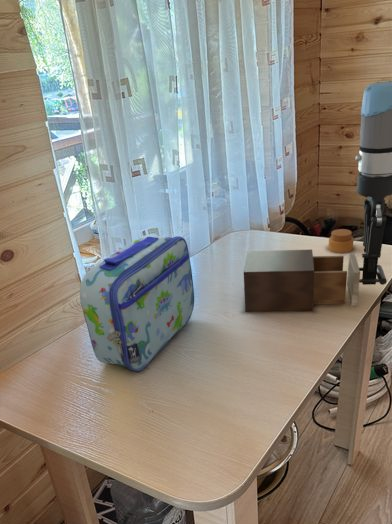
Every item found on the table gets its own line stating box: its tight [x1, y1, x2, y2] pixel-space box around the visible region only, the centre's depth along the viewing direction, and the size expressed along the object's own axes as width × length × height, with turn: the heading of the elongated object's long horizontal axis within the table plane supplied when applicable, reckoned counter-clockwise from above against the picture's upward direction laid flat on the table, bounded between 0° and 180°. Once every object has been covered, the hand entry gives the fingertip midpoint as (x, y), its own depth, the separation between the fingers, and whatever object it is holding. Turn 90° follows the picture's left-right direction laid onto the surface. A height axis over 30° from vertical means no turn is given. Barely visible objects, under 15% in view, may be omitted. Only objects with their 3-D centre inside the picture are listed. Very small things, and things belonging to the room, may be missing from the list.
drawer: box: [313, 252, 388, 307], centre depth 112 cm, size 19×10×8 cm, turn 81°
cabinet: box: [243, 249, 314, 313], centre depth 115 cm, size 15×12×10 cm
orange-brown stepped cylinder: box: [328, 228, 354, 254], centre depth 138 cm, size 6×6×4 cm
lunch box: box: [79, 234, 195, 372], centre depth 100 cm, size 26×11×21 cm, turn 150°
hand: (368, 282), depth 112 cm, fingers closed
